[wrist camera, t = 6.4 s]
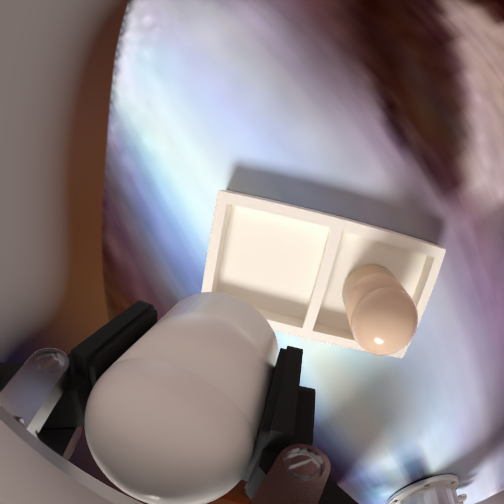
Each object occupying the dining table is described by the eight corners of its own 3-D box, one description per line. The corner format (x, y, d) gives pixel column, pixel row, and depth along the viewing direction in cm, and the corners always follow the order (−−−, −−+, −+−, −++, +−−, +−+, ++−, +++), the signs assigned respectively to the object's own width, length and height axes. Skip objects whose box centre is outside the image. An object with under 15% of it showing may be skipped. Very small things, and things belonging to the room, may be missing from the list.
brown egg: (395, 259, 21) (430, 297, 14) (396, 311, 22) (424, 360, 15) (339, 269, 21) (354, 312, 15) (344, 321, 23) (357, 375, 16)
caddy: (436, 244, 20) (445, 249, 18) (397, 346, 23) (402, 358, 21) (226, 189, 23) (218, 190, 21) (207, 299, 25) (198, 308, 23)
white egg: (291, 311, 10) (252, 490, 3) (263, 403, 11) (219, 546, 5) (169, 277, 11) (27, 382, 4) (162, 371, 12) (74, 482, 5)
